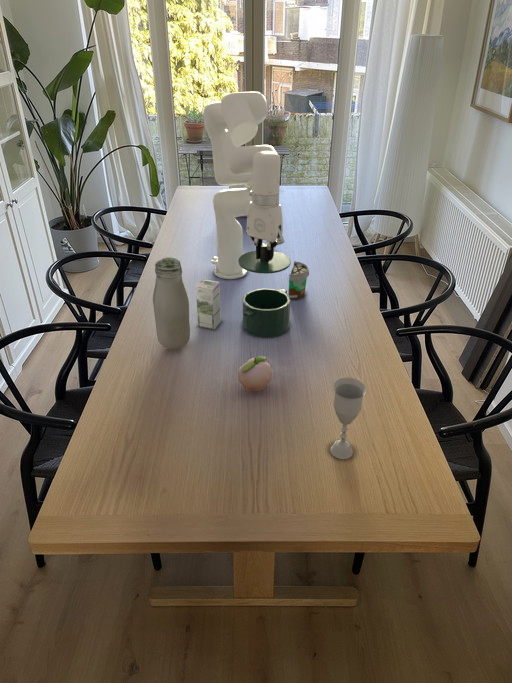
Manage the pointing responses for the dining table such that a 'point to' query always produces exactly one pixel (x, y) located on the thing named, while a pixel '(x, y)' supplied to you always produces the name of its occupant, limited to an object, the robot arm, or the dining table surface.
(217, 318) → the syrup box
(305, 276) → the food container
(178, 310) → the glass bottle
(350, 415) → the chalice
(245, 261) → the lid
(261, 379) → the decorative fruit
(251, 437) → the dining table surface
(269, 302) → the pot
